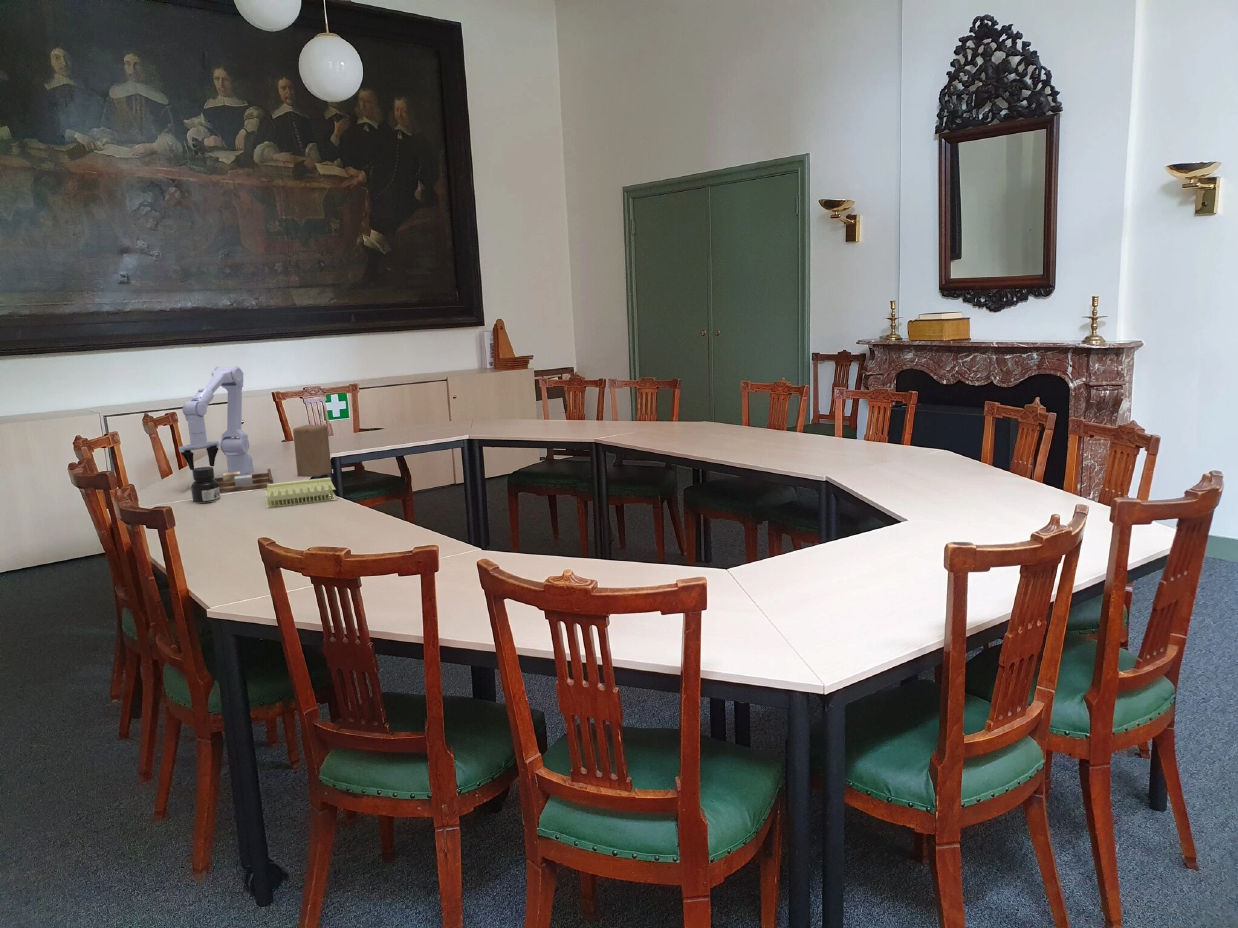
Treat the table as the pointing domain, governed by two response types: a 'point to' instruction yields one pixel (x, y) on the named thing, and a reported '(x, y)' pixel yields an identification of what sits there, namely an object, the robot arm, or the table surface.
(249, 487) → the lane shelf
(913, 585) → the table surface
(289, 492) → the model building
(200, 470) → the ink bottle
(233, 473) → the birch block
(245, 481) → the grey block
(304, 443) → the wooden block
